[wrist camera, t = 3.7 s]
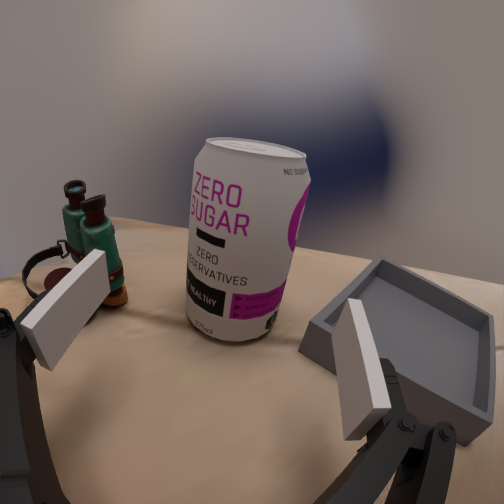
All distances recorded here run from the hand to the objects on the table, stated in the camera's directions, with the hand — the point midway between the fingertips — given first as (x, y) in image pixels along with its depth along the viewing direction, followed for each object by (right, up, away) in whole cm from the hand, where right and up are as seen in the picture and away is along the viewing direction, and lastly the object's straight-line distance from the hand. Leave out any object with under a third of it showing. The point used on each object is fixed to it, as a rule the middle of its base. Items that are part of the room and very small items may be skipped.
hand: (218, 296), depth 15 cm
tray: (+18, -7, +10) cm, 22 cm away
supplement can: (0, -4, +12) cm, 12 cm away
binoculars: (-15, -3, +9) cm, 18 cm away
